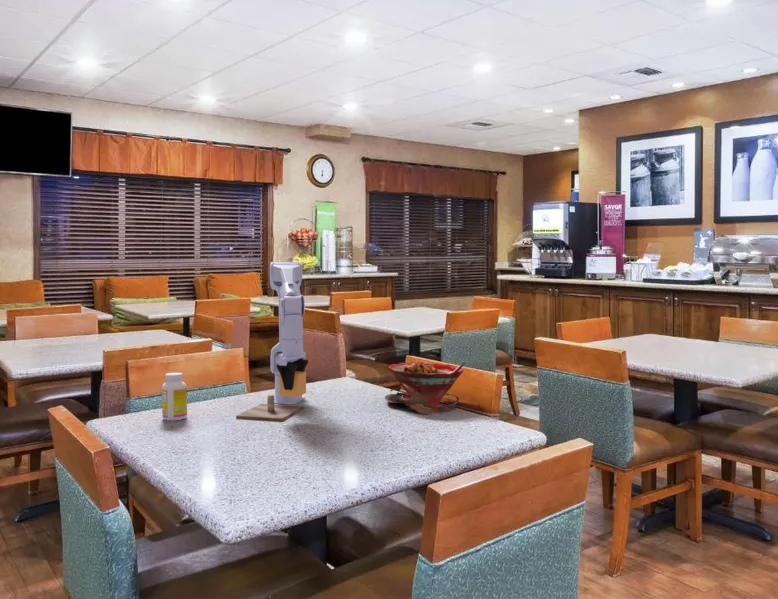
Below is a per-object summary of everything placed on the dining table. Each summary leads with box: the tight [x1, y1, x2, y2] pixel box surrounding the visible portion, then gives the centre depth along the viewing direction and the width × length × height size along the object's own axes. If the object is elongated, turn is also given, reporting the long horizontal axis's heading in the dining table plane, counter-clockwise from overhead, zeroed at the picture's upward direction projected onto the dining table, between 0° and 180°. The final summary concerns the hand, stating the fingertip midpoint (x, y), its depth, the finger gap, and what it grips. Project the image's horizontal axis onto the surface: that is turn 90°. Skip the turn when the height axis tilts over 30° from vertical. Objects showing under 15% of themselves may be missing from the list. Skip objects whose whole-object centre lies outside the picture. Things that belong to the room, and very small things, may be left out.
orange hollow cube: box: [279, 371, 307, 397], centre depth 184 cm, size 6×6×6 cm
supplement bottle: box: [161, 372, 188, 422], centre depth 186 cm, size 7×7×13 cm
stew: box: [384, 358, 468, 416], centre depth 202 cm, size 28×24×16 cm
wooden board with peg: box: [235, 394, 305, 422], centre depth 192 cm, size 16×14×6 cm
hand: (292, 387), depth 184 cm, fingers closed on orange hollow cube, 6 cm apart
